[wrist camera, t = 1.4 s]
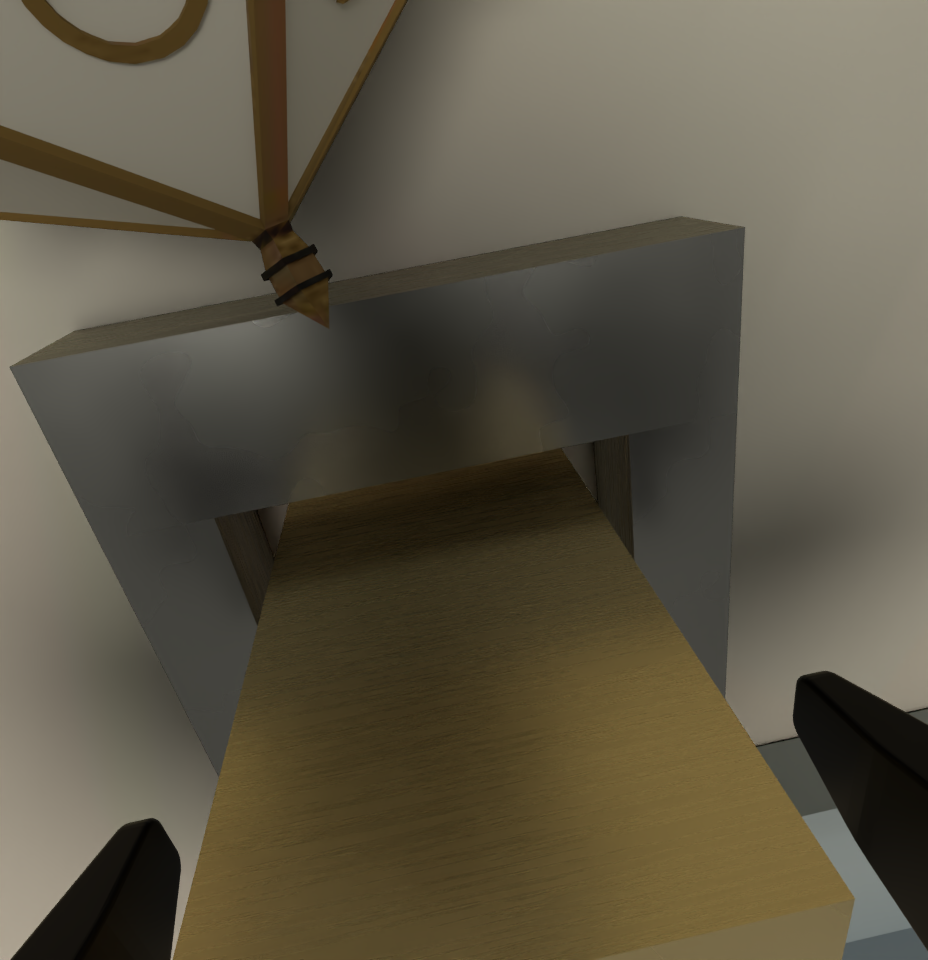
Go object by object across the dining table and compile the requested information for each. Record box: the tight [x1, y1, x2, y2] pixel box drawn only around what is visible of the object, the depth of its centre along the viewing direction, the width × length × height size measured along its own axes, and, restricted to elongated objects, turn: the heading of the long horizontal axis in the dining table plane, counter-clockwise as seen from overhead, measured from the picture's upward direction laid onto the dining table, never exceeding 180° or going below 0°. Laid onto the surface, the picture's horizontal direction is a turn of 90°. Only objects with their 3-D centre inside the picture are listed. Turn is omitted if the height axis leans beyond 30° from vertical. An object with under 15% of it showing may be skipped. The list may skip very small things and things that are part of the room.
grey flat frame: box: [10, 217, 745, 776], centre depth 14 cm, size 10×22×2 cm, turn 9°
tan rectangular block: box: [173, 448, 855, 960], centre depth 9 cm, size 5×5×8 cm
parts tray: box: [756, 709, 928, 960], centre depth 19 cm, size 11×11×2 cm
